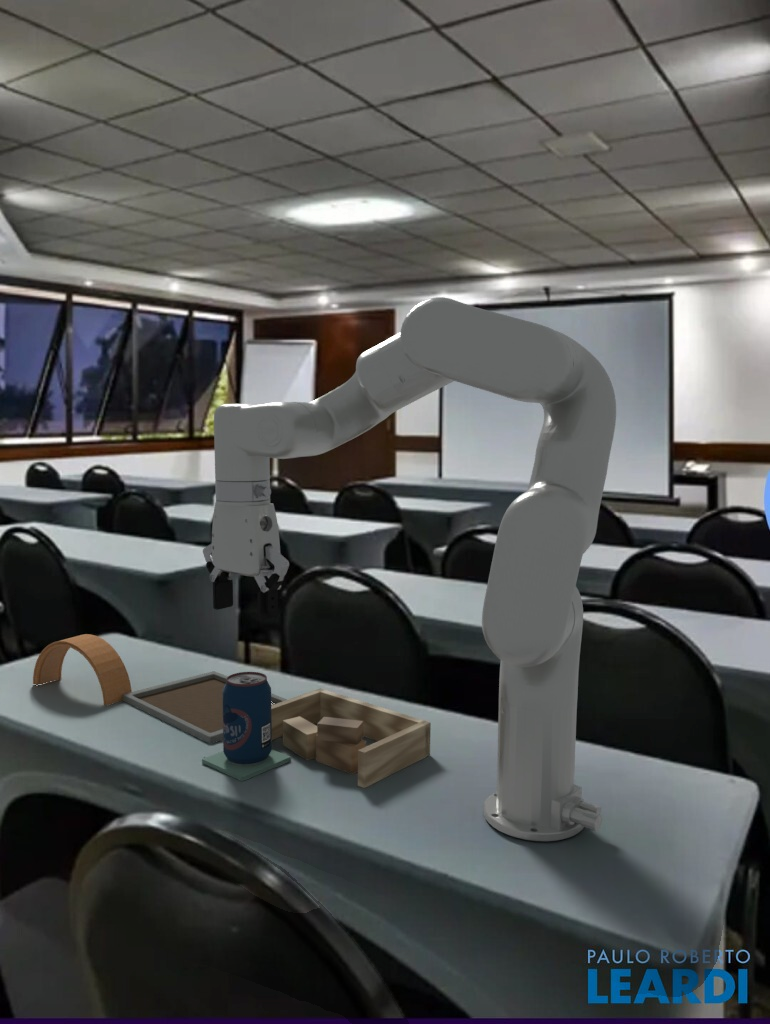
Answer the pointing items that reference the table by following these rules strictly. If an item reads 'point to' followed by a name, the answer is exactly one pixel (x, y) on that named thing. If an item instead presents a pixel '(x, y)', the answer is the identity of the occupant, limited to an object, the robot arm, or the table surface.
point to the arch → (97, 655)
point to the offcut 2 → (339, 754)
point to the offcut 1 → (300, 737)
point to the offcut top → (340, 730)
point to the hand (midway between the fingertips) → (245, 613)
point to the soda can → (247, 718)
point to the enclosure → (393, 731)
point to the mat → (245, 772)
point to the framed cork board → (188, 704)
